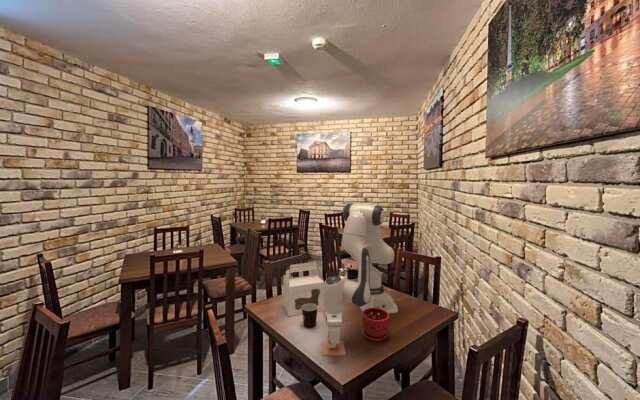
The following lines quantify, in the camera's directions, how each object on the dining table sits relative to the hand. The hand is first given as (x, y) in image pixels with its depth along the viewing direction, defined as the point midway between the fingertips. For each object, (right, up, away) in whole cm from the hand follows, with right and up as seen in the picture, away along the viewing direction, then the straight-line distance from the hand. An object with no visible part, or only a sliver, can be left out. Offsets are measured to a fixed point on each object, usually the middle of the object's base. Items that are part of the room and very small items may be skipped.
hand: (333, 341), depth 130 cm
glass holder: (+14, +1, +65) cm, 67 cm away
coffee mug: (-12, -2, +20) cm, 23 cm away
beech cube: (0, -2, 0) cm, 2 cm away
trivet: (0, -4, 0) cm, 4 cm away
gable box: (-16, -1, +41) cm, 44 cm away
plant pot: (+21, -3, +10) cm, 24 cm away
